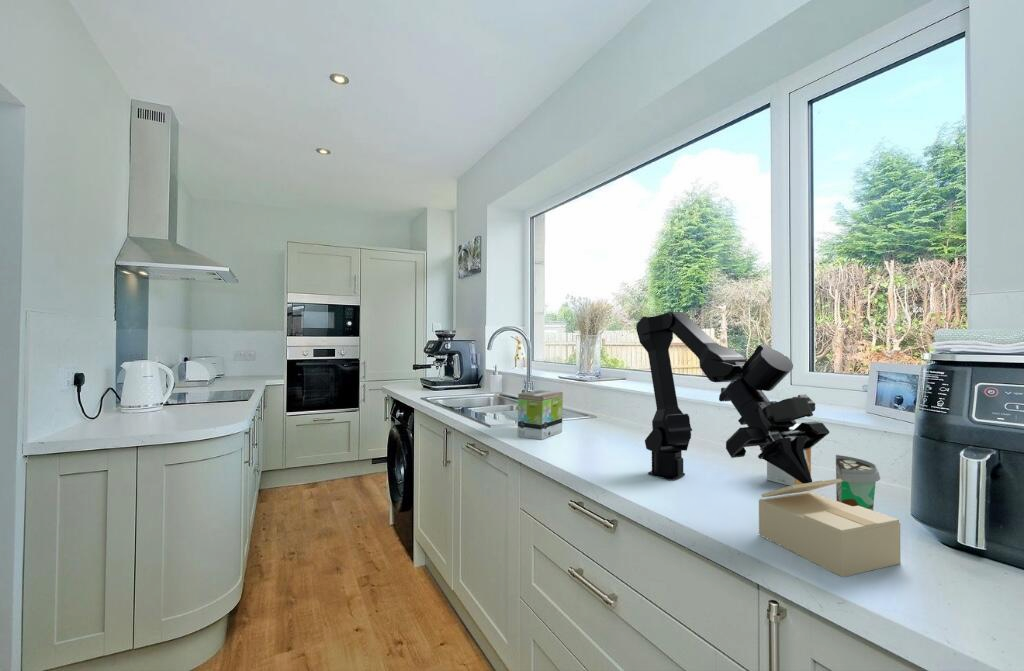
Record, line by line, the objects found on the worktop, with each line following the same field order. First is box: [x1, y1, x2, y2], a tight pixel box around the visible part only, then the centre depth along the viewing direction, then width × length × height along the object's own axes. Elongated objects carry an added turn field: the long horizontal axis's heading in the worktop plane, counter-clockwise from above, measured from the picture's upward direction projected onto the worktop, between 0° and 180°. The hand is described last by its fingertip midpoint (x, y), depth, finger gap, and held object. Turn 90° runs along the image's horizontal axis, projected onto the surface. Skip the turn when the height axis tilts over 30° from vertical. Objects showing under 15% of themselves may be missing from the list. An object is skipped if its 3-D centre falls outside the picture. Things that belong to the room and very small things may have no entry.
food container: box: [835, 454, 881, 511], centre depth 83 cm, size 12×6×10 cm, turn 148°
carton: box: [758, 491, 902, 578], centre depth 71 cm, size 14×12×7 cm
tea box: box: [517, 389, 564, 441], centre depth 155 cm, size 15×10×15 cm, turn 147°
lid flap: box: [760, 478, 843, 499], centre depth 75 cm, size 7×11×1 cm, turn 108°
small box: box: [766, 423, 812, 486], centre depth 104 cm, size 8×6×13 cm
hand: (808, 483), depth 73 cm, fingers closed, pressing on lid flap
